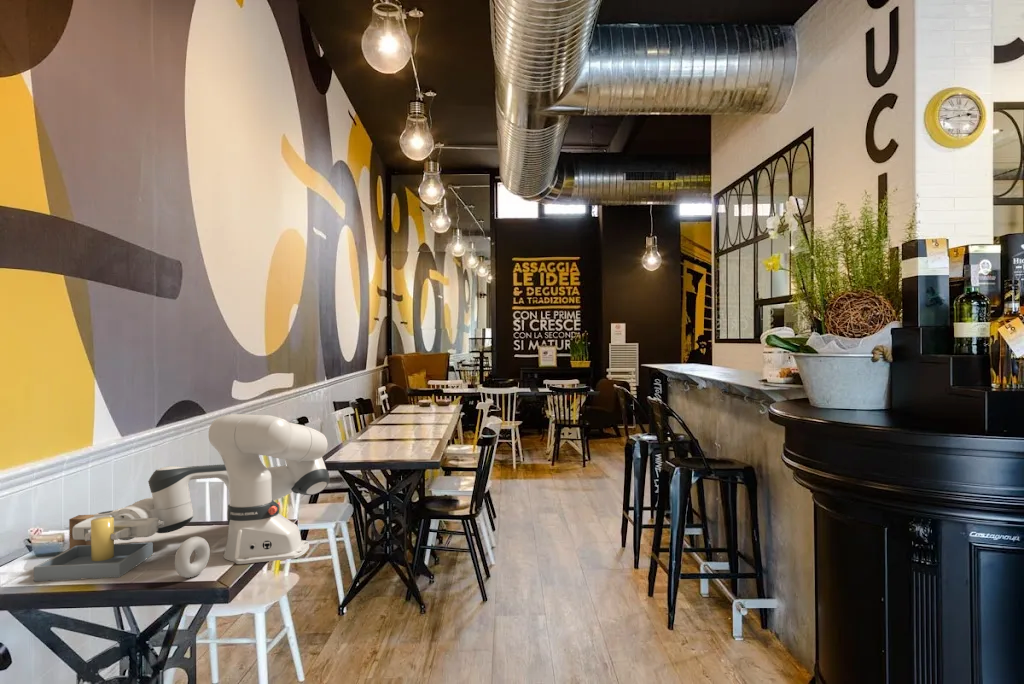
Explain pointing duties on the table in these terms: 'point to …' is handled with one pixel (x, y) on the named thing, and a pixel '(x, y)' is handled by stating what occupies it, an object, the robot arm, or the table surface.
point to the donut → (185, 552)
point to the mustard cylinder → (102, 538)
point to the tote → (92, 562)
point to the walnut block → (72, 523)
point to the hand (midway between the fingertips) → (100, 537)
